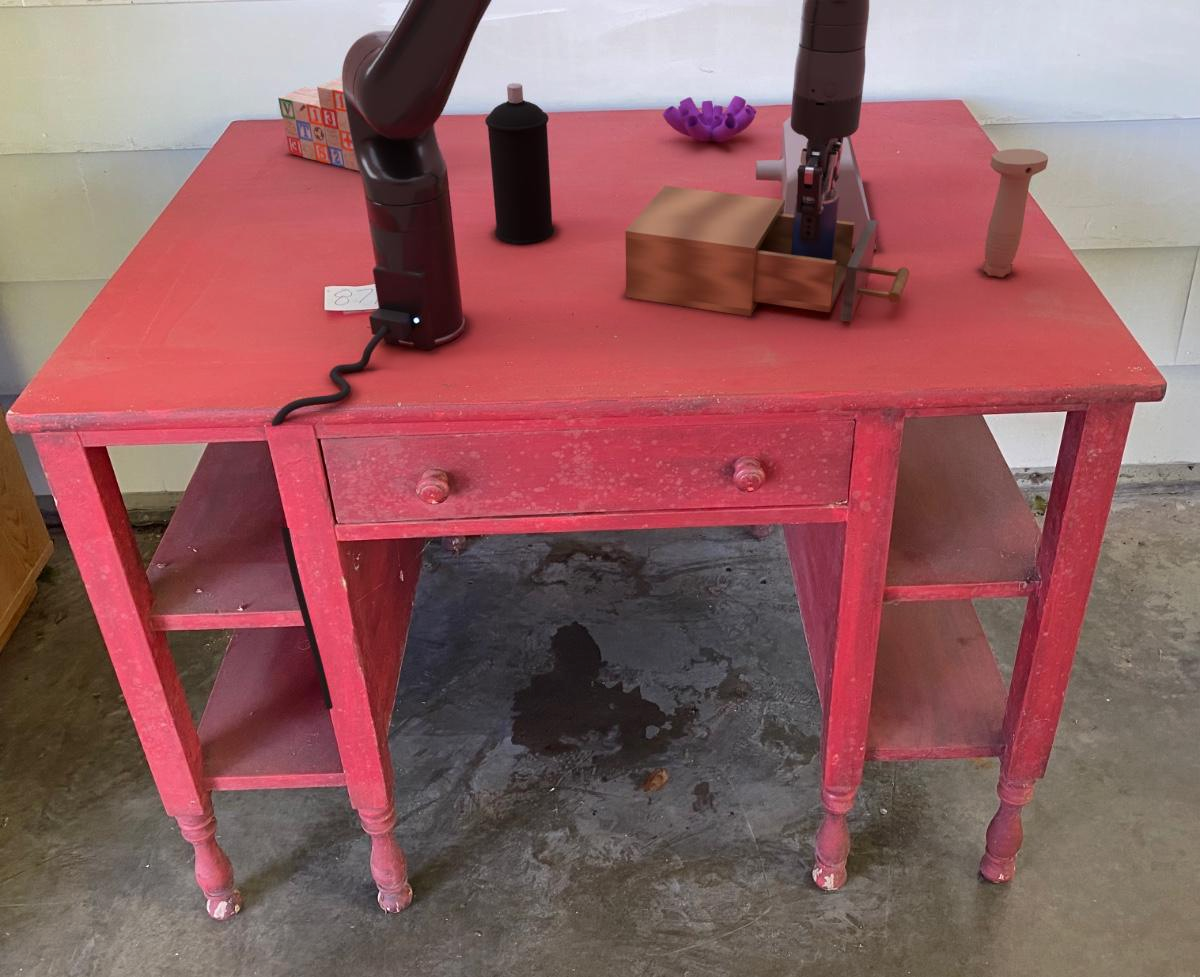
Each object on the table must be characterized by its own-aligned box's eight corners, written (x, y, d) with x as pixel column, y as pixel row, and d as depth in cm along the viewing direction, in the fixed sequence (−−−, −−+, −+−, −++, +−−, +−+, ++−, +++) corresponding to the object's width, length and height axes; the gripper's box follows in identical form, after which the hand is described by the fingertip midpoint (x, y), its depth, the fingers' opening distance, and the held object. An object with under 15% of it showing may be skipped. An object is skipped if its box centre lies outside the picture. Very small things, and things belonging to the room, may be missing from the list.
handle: (1029, 278, 140) (1055, 161, 131) (981, 283, 139) (1004, 166, 130) (1010, 261, 143) (1035, 146, 134) (963, 267, 142) (985, 151, 133)
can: (825, 292, 133) (835, 204, 127) (784, 286, 135) (791, 199, 128) (834, 274, 137) (843, 188, 131) (794, 268, 139) (801, 183, 132)
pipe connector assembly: (754, 163, 182) (761, 128, 173) (662, 164, 182) (664, 130, 173) (752, 103, 185) (758, 66, 176) (661, 104, 186) (663, 67, 176)
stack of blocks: (288, 155, 181) (273, 77, 174) (315, 143, 185) (301, 66, 178) (388, 179, 172) (376, 98, 164) (414, 165, 176) (404, 86, 168)
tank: (753, 179, 168) (758, 95, 160) (862, 181, 166) (872, 96, 159) (753, 251, 148) (759, 158, 140) (877, 253, 146) (889, 160, 139)
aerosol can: (546, 247, 151) (538, 97, 139) (487, 243, 152) (474, 94, 140) (560, 222, 157) (553, 76, 145) (504, 218, 158) (492, 74, 146)
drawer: (911, 277, 138) (919, 225, 134) (893, 328, 128) (901, 273, 124) (757, 256, 144) (760, 206, 140) (728, 303, 134) (731, 250, 130)
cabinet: (780, 264, 144) (785, 199, 139) (750, 316, 133) (754, 248, 128) (663, 248, 149) (664, 185, 144) (626, 297, 138) (625, 230, 133)
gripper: (808, 65, 129) (796, 205, 139) (778, 103, 118) (768, 253, 128) (874, 70, 126) (857, 213, 137) (849, 110, 116) (833, 261, 126)
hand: (814, 231), depth 132 cm, fingers closed on can, 5 cm apart
